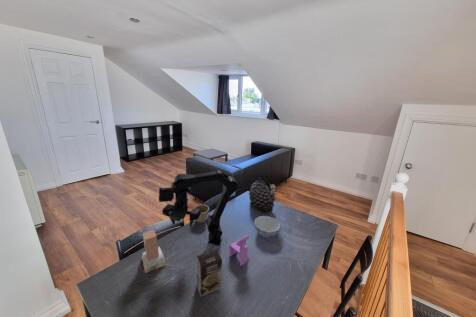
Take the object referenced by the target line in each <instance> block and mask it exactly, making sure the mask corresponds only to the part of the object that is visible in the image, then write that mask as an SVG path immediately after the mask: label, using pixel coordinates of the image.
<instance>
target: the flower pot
mask: <svg viewBox="0 0 476 317" xmlns="http://www.w3.org/2000/svg"><path fill="white" fill-rule="evenodd" d="M194 208H195V209H200V210H201V215H200V216H199V218H198V219H197V220H196V222H197V223H199V224H202V223H205V222H206V220H207V218H208V212H209V211H210V207H209V206H208V205H206V204H198V205H195V207H194Z"/></svg>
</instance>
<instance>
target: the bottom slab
mask: <svg viewBox="0 0 476 317" xmlns="http://www.w3.org/2000/svg"><path fill="white" fill-rule="evenodd" d="M141 261H142V266H143V270H144V273H145V274H146V273H149V272H151V271H154V270H157V269H160V268H162V267H164V266H166V260H165V259H164V262H162V263H159V264H157V265H154V266H152V267H149V268H147V269H146V265H145V262H144V259H143V255H142V256H141Z"/></svg>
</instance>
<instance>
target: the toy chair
mask: <svg viewBox="0 0 476 317" xmlns="http://www.w3.org/2000/svg"><path fill="white" fill-rule="evenodd" d="M249 238H250V235H249V234H246V235H245V236H243V237H241V238H240V239H238V240H236V241H235V242H233V243H231V244H230V245H229V255H228V257H232V256H233V255H234V254H236V253H237V254H238V256H239V258H240V264H239V267H242V266H243V265H244V264H246V263H247V262H248V261H250V258H249V255H248V253H249V246H248V245H247V240H248V239H249Z"/></svg>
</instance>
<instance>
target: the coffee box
mask: <svg viewBox="0 0 476 317" xmlns="http://www.w3.org/2000/svg"><path fill="white" fill-rule="evenodd" d="M222 266H223V259H222V258H221V255H220V254H219V252H218V249H215V250H212V251H209V252H205V253H202V254H201V255H197V256H196V288H197V291H198V293H199V296H200V297H201V298H202V297H204V296H207V295H208V294H211V293H213V292H214V293H215V292H216V291H218V290H221V287H222V271H223V270H222Z"/></svg>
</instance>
